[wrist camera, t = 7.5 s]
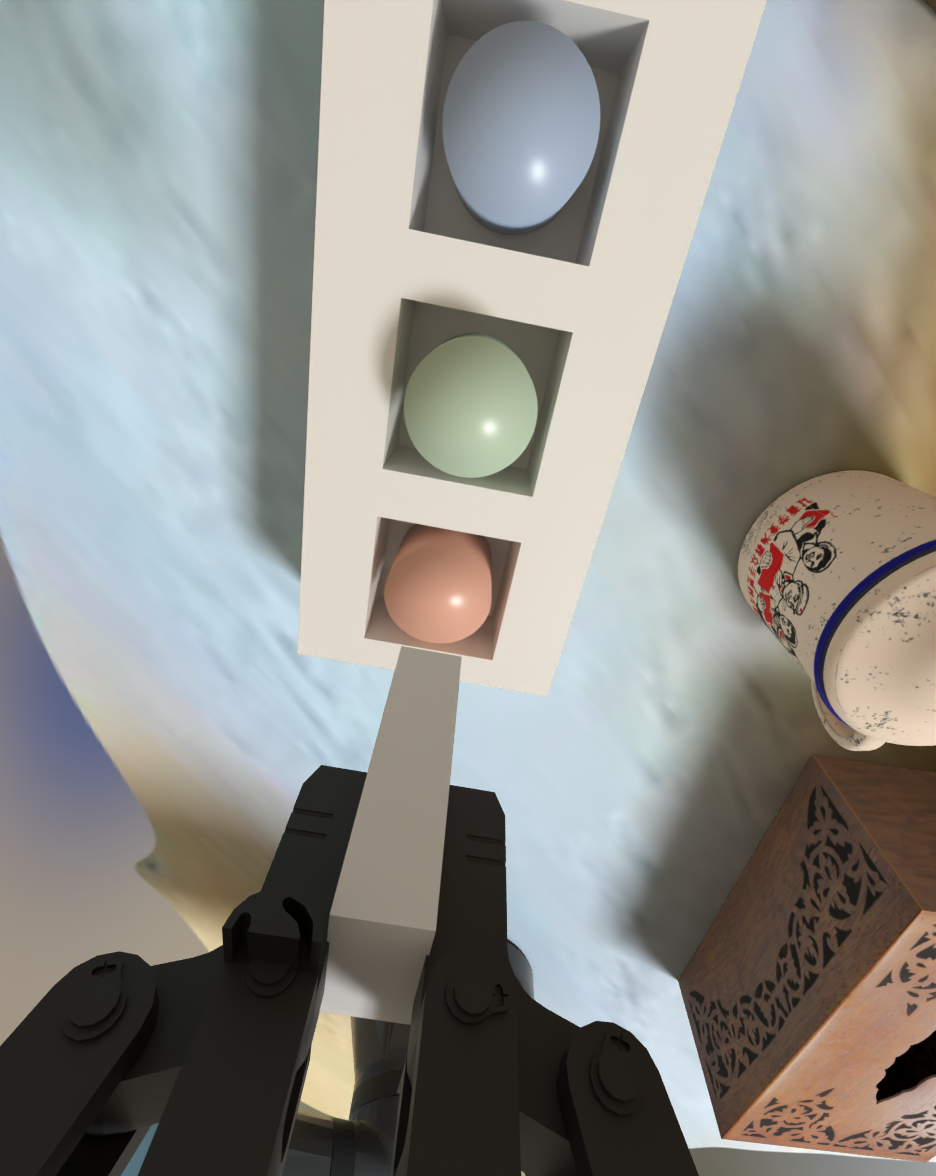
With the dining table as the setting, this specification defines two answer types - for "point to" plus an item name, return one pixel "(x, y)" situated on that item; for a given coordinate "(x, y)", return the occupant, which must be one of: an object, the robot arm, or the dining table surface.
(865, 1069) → the tissue box cover
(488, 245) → the tray
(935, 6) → the wooden plate with food
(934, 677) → the teacup with lid
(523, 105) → the button slate
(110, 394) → the dining table surface
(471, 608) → the button terracotta
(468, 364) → the button sage
